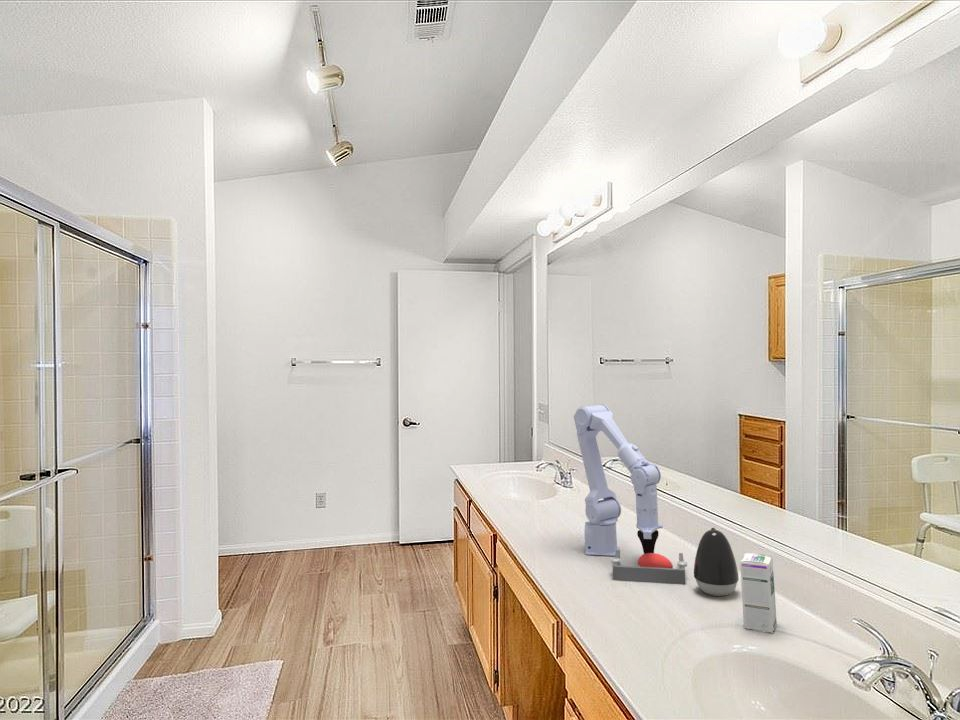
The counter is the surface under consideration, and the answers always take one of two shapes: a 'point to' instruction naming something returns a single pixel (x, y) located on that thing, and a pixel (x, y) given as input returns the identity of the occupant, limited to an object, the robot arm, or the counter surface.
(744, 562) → the syrup box
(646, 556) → the red kidney bean shape
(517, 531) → the counter surface
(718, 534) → the black egg-shaped device
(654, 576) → the gray u-shaped bracket
